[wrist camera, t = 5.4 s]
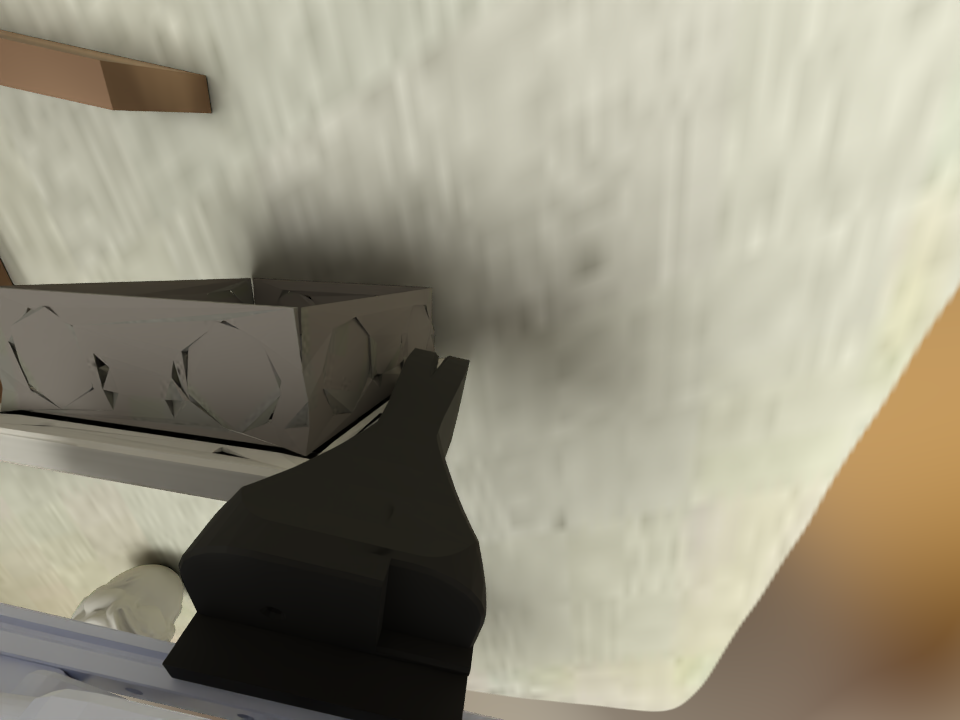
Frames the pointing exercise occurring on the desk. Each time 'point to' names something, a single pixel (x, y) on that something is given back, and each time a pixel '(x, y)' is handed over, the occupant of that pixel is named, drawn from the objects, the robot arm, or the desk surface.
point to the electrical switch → (198, 375)
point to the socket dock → (96, 81)
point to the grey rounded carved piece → (136, 602)
